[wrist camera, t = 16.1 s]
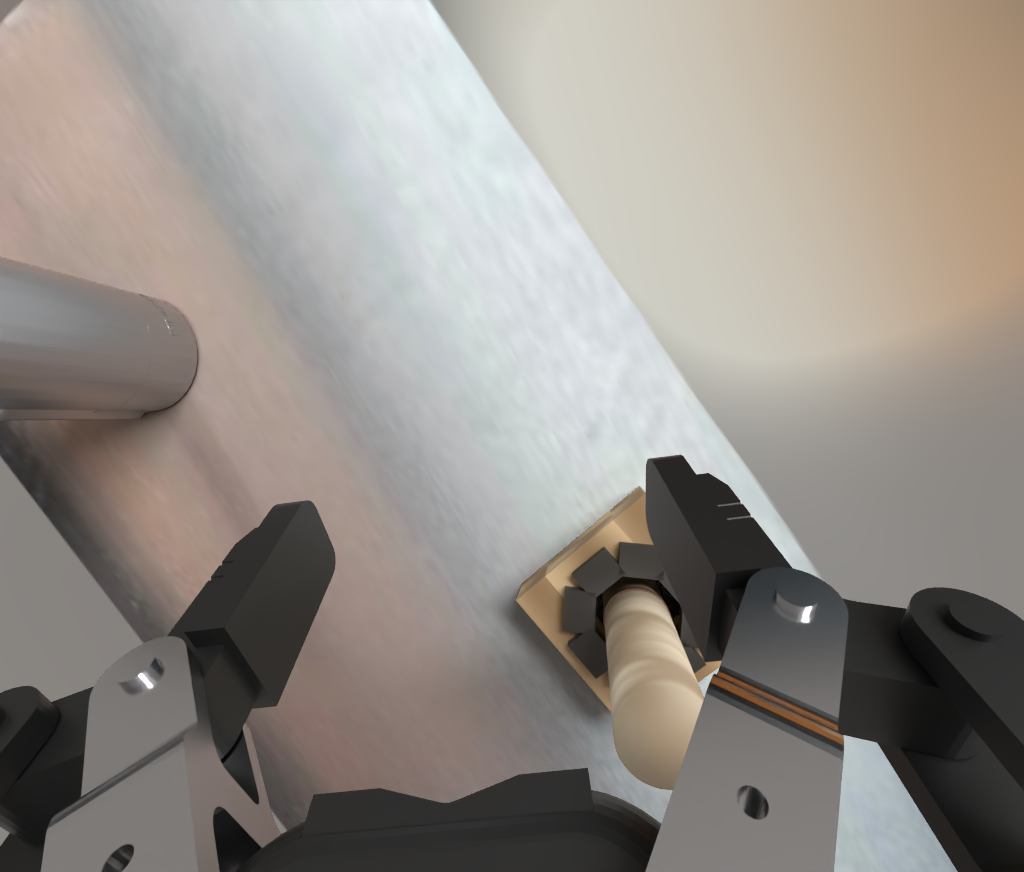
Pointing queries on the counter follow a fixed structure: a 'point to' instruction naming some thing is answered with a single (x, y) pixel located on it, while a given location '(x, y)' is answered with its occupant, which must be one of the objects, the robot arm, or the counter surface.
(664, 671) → the dowel
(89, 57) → the counter surface
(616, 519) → the socket
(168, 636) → the robot arm
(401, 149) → the counter surface
